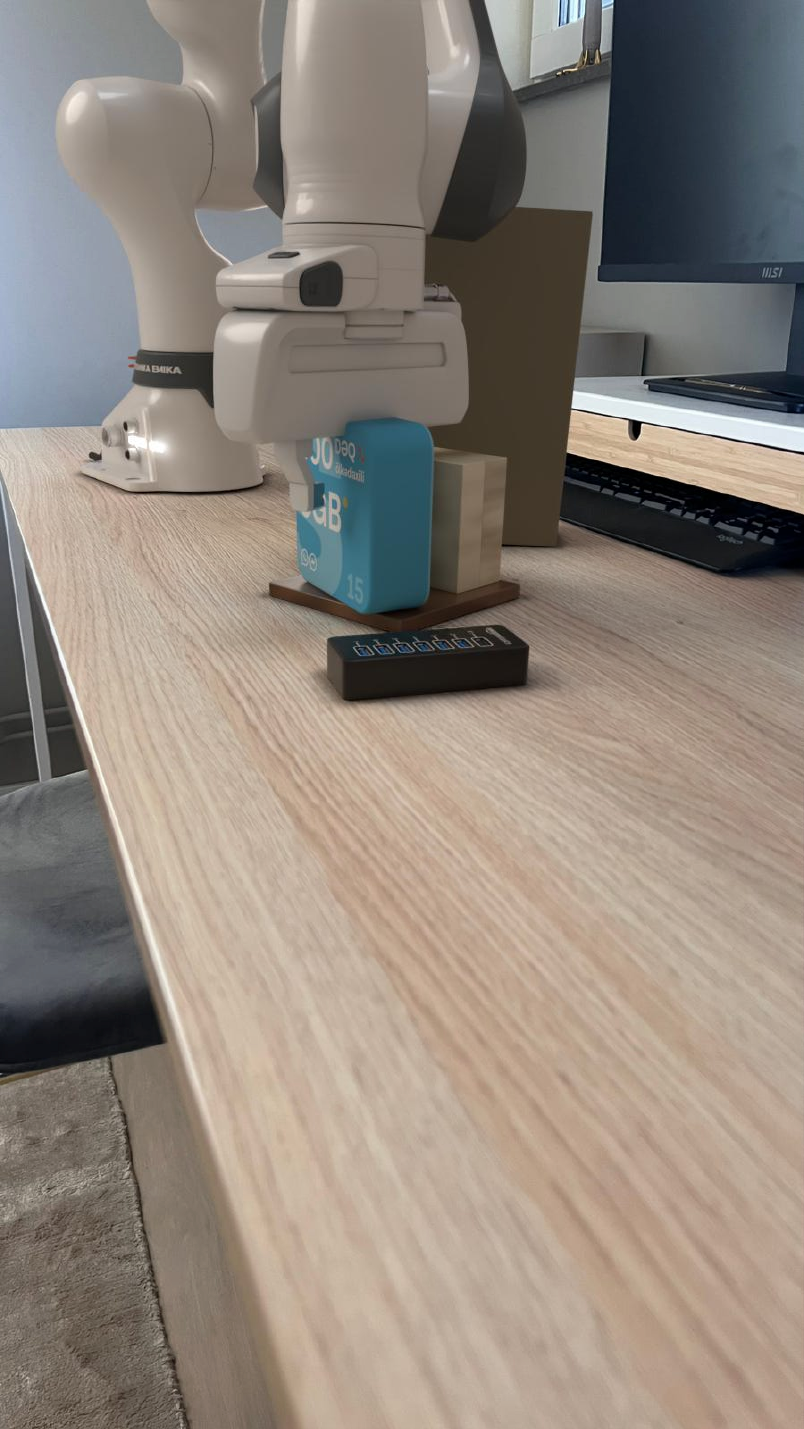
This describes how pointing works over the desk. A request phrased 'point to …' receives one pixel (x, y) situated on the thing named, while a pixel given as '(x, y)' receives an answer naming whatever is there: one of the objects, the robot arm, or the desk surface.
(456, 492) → the wood block on base
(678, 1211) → the desk surface
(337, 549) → the data package
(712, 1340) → the desk surface
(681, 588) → the desk surface
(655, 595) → the desk surface
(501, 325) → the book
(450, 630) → the multiport hub
